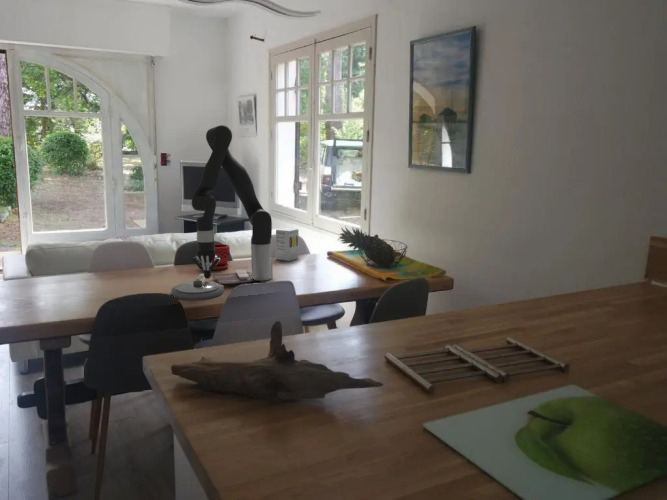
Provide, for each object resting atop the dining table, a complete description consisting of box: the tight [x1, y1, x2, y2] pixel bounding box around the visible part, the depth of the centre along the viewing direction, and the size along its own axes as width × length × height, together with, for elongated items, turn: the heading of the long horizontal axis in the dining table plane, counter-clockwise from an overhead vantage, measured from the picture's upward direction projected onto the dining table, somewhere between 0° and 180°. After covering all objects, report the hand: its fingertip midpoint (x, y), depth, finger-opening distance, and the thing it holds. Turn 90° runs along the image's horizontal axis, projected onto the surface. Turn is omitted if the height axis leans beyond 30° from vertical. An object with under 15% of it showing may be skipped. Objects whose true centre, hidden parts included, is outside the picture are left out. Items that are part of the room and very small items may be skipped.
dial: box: [175, 273, 220, 294], centre depth 248 cm, size 20×18×4 cm
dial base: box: [171, 283, 225, 301], centre depth 248 cm, size 22×22×2 cm
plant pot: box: [211, 243, 231, 271], centre depth 295 cm, size 13×13×12 cm
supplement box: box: [275, 227, 299, 262], centre depth 318 cm, size 10×9×17 cm
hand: (207, 278), depth 255 cm, fingers closed
